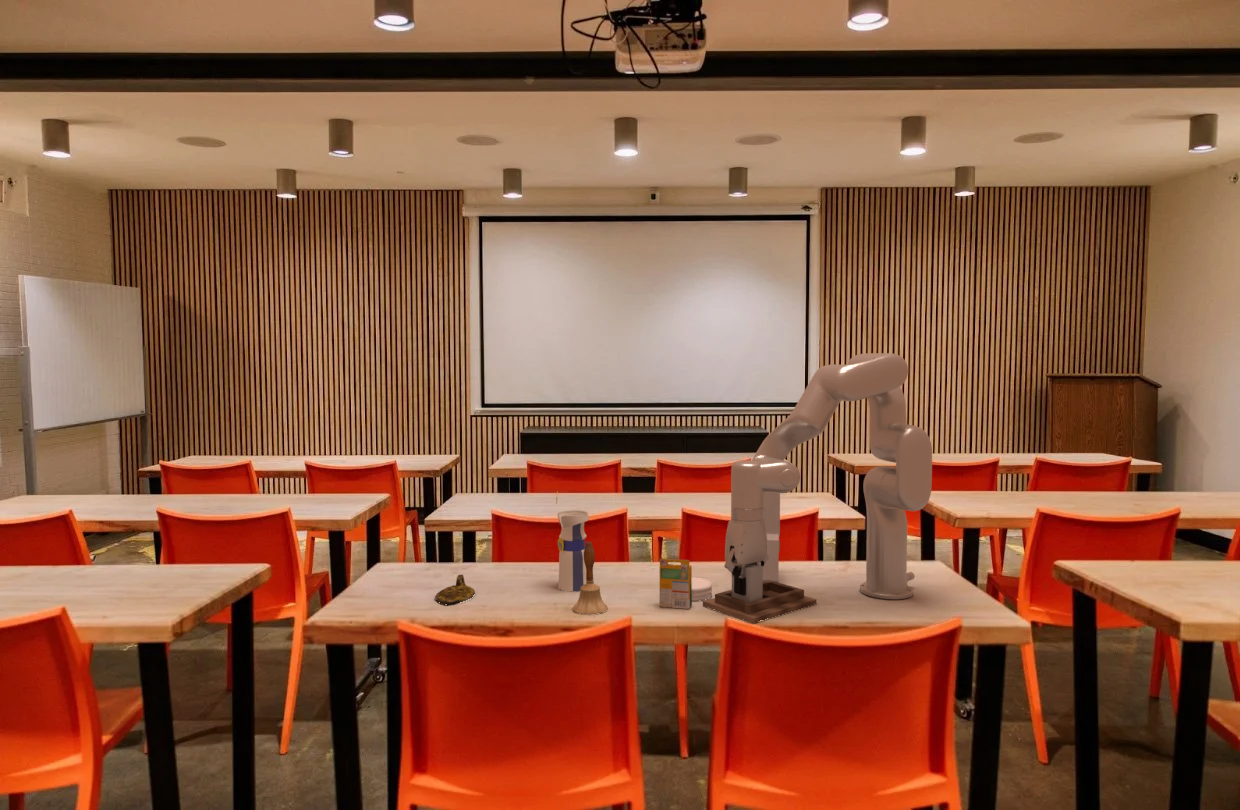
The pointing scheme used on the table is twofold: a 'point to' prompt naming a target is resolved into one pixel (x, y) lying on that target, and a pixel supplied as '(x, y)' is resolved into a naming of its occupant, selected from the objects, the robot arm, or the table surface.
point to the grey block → (751, 583)
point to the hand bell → (589, 588)
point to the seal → (455, 592)
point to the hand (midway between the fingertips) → (746, 591)
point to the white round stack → (701, 589)
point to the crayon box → (675, 584)
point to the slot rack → (762, 602)
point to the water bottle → (572, 550)
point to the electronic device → (772, 535)
